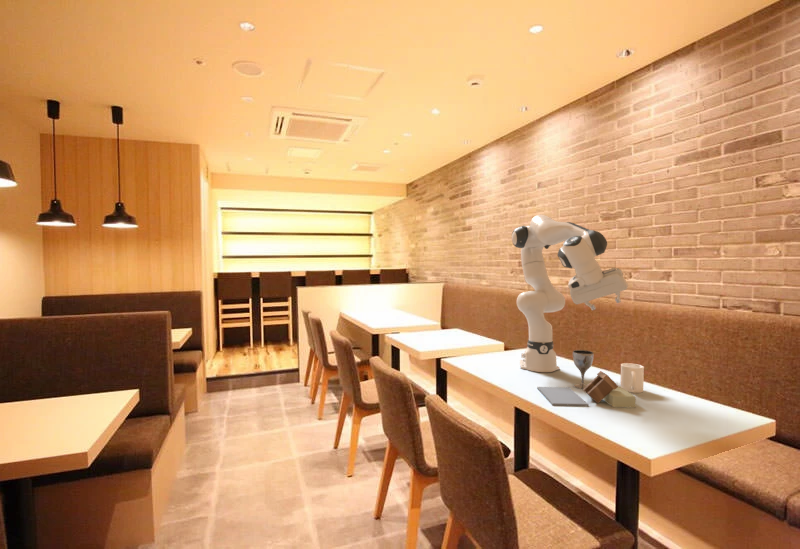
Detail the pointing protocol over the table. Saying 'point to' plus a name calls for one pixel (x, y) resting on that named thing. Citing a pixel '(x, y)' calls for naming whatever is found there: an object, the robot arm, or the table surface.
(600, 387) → the stool
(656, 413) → the table surface
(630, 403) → the pale olive rectangular block
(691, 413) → the table surface
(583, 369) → the wine glass
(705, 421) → the table surface
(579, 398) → the mat
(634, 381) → the mug
